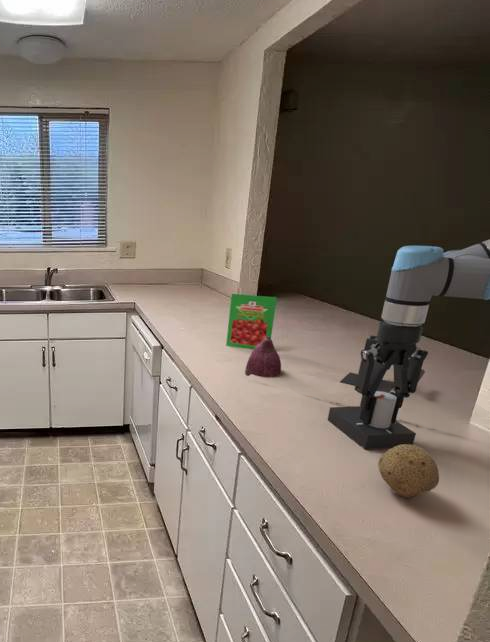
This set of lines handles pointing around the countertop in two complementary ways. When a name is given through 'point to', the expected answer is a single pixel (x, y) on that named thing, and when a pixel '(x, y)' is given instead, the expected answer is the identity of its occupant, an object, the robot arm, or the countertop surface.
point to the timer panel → (369, 429)
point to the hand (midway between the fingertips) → (377, 420)
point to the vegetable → (264, 360)
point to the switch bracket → (384, 385)
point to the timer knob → (383, 410)
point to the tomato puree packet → (250, 320)
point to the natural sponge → (408, 470)
